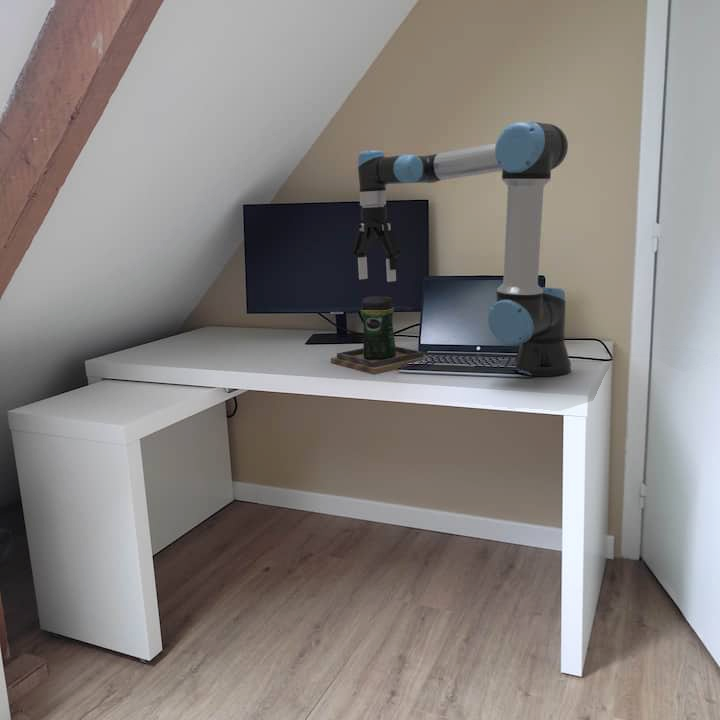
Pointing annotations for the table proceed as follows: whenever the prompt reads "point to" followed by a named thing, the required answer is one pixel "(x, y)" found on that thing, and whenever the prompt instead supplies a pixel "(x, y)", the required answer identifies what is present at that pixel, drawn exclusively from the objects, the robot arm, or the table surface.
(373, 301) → the coffee jar
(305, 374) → the table surface
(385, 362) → the wooden tray
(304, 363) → the table surface
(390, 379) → the table surface
